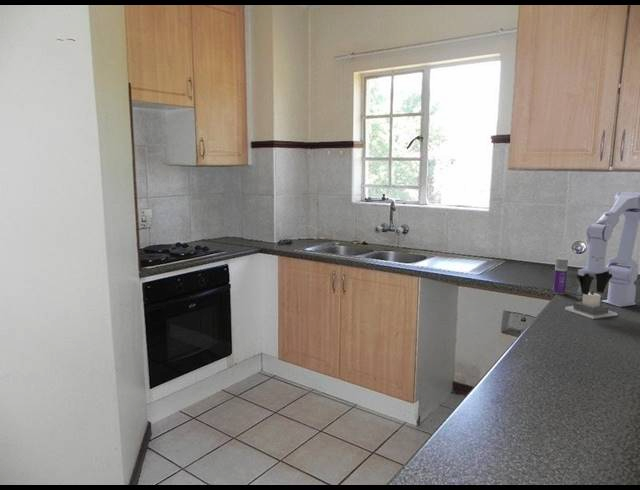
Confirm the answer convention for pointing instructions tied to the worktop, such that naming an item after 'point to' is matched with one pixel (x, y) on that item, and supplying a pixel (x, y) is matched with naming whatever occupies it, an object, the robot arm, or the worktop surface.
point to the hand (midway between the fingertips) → (592, 293)
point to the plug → (591, 299)
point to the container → (560, 276)
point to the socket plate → (591, 310)
